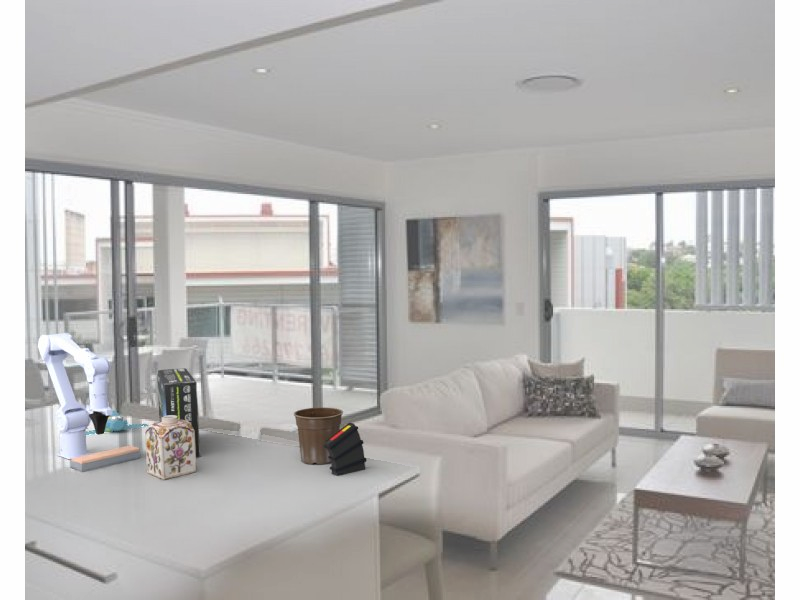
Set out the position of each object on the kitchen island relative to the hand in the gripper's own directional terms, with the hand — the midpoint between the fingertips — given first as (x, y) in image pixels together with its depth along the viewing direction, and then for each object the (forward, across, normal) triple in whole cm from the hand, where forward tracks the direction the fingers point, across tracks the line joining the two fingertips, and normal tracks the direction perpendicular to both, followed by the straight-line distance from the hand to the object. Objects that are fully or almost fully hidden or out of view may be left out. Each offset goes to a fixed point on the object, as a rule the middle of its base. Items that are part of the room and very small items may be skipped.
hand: (100, 433), depth 238 cm
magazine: (+10, +77, +40) cm, 87 cm away
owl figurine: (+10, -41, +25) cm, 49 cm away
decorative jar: (+10, +32, +7) cm, 34 cm away
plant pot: (+10, +60, +45) cm, 76 cm away
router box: (+10, +6, +26) cm, 28 cm away
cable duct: (+9, +3, 0) cm, 10 cm away
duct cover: (+7, +4, 0) cm, 8 cm away
